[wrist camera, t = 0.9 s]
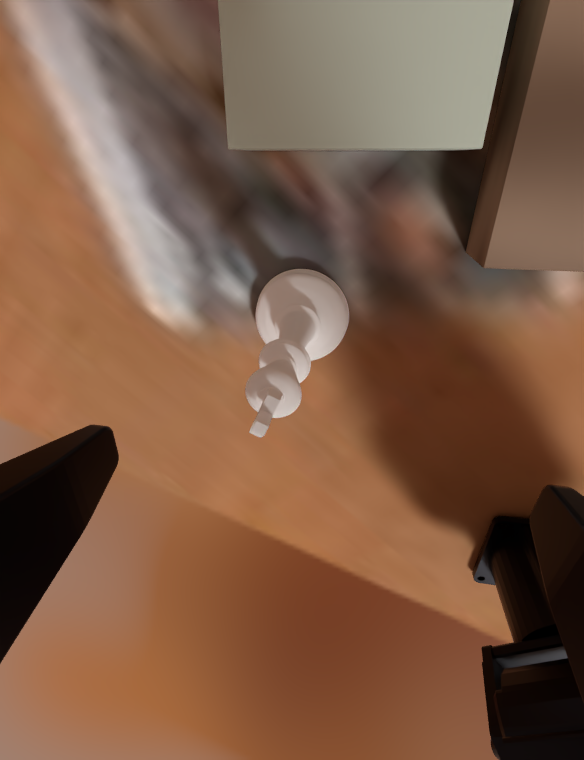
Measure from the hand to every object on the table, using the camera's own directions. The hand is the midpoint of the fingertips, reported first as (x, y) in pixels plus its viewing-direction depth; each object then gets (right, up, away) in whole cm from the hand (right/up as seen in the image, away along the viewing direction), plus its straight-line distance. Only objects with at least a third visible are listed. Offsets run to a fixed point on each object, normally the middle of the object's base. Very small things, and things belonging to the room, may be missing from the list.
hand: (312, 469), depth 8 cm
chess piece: (0, +5, +12) cm, 14 cm away
